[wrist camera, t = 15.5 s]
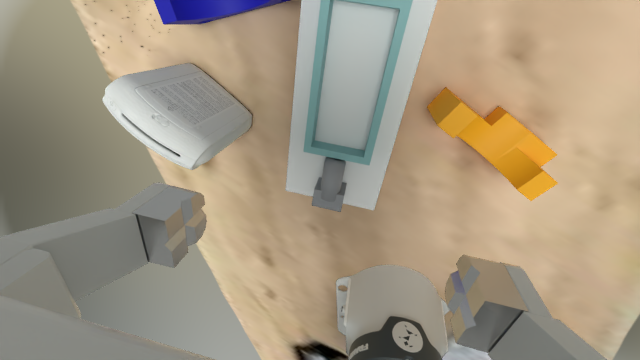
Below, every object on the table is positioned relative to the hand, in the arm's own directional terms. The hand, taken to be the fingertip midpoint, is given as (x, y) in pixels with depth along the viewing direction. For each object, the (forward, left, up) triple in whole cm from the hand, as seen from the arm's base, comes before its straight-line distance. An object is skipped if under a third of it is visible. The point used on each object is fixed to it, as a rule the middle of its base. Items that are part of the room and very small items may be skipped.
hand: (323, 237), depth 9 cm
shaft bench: (0, +1, -25) cm, 25 cm away
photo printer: (-5, +17, -25) cm, 31 cm away
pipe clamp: (-2, -13, -25) cm, 28 cm away
